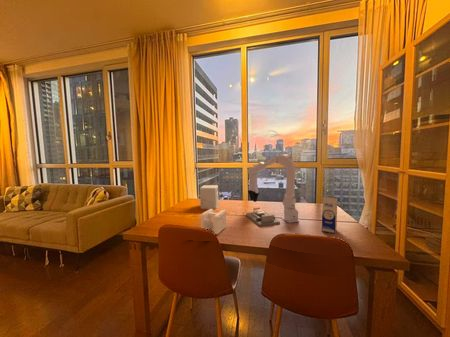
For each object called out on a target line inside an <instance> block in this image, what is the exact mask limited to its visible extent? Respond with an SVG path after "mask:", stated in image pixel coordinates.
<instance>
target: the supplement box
mask: <svg viewBox="0 0 450 337" xmlns="http://www.w3.org/2000/svg"><path fill="white" fill-rule="evenodd" d="M199 195H200V196H199V197H200V198H199V199H200V200H199V201H200V209H202V210H205V209H206V210H209V209H213V210H216V209H218V207H219V205H220V204H219V203H220V202H219V185H218V184H217V185H214V184H211V185H207V184H206V185H205V184H204V185H202V186H201V187H200V188H199Z"/></svg>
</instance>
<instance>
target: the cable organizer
mask: <svg viewBox="0 0 450 337" xmlns="http://www.w3.org/2000/svg"><path fill="white" fill-rule="evenodd" d="M227 214H228V212H227V211H226V210H225V209H221V210H220V211H219V212H214V209H206V211H204V212H202V213H201V215H200V229H201V228H205V229H208V230H207V231H209V230H210V229H212V230H211V232H212V233H213V234H215V235H219V234H220V233H221V232H222V231H223V230H224V229H225V228H226V227H227Z"/></svg>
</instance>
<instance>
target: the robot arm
mask: <svg viewBox="0 0 450 337" xmlns="http://www.w3.org/2000/svg"><path fill="white" fill-rule="evenodd" d="M274 164H279V165H280V166H283V167H284V168H285V169H286V183H285V193H284V197H283V200H282V205H283V216H282V217H281V219H282V220H283V221H285V222H287V223H296V222H297V223H298V222H300V220H299V211H298V210H297V209H296V204H297V198H296V193H295V184H296V183H295V182H296V163H295V162H294V159H293V157H292V156H291V155H290V154H279V155H277V156H274V157H272V158H271V159H269V160H266V161H265V162H263V161H259V162H258V163H257V164H254V165H253V166H249V167H248V169H247V173H248V176H249V184H248V185H249V186H248V189H247V192H248V195H249V198H250V201H253V202H254V203H256V202H257V201H258V196H259V195H260V190H259V189H258V173H261V172H262V171H264V170H265V171H266V169H267V167H269V166H272V165H274Z"/></svg>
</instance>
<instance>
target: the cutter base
mask: <svg viewBox="0 0 450 337" xmlns="http://www.w3.org/2000/svg"><path fill="white" fill-rule="evenodd" d="M264 212H265V214H263V215H256V214H255V213H253V211H250V212H246V213H245V215H246V216H247V217H248V218H249V219H250V220H251V221H252V222H253V223H255V224H256V225H257V226H258V227H268V226H275V225H281V222H280V220H278V219H276V216H275V214H269V213H268V212H266V211H264Z"/></svg>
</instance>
